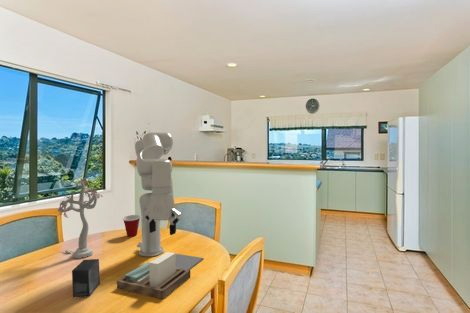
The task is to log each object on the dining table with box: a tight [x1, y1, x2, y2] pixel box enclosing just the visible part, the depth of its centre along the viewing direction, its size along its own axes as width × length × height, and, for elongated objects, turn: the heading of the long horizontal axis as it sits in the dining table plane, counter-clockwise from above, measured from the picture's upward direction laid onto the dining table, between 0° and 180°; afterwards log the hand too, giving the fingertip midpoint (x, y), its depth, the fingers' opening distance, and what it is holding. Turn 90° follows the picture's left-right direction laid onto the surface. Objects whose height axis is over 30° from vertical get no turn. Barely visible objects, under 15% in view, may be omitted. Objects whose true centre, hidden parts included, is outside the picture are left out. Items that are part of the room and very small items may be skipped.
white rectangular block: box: [148, 251, 176, 288], centre depth 117 cm, size 4×12×11 cm, turn 158°
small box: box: [71, 258, 101, 298], centre depth 112 cm, size 11×6×10 cm, turn 5°
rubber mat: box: [175, 253, 204, 271], centre depth 138 cm, size 16×16×1 cm
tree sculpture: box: [57, 177, 103, 259], centre depth 149 cm, size 28×24×40 cm
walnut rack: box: [116, 268, 191, 300], centre depth 119 cm, size 22×19×3 cm
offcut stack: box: [124, 261, 150, 284], centre depth 121 cm, size 7×14×4 cm, turn 158°
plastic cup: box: [121, 214, 141, 238], centre depth 181 cm, size 11×11×12 cm
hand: (162, 233), depth 116 cm, fingers open, 9 cm apart
